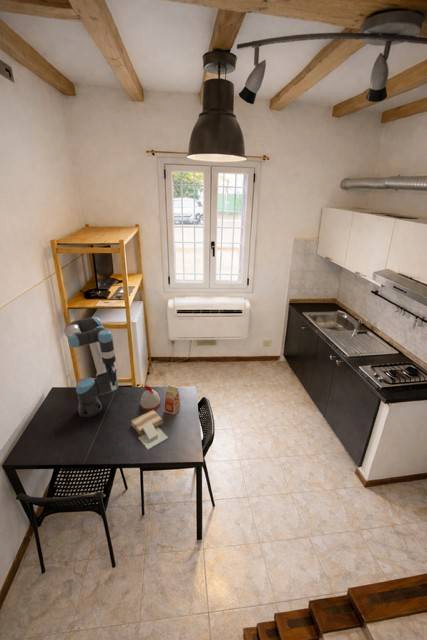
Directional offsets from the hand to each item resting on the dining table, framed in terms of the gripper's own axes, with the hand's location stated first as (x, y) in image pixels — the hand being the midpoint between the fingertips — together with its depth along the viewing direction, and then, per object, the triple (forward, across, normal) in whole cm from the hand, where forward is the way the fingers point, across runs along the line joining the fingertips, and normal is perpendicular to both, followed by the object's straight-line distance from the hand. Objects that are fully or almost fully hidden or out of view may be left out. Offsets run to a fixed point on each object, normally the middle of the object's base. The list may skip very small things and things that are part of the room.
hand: (113, 388), depth 193 cm
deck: (+26, +14, +13) cm, 33 cm away
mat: (+26, +26, +10) cm, 39 cm away
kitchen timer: (+27, -3, +25) cm, 37 cm away
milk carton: (+27, +12, +34) cm, 45 cm away
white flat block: (+24, +23, +10) cm, 35 cm away
